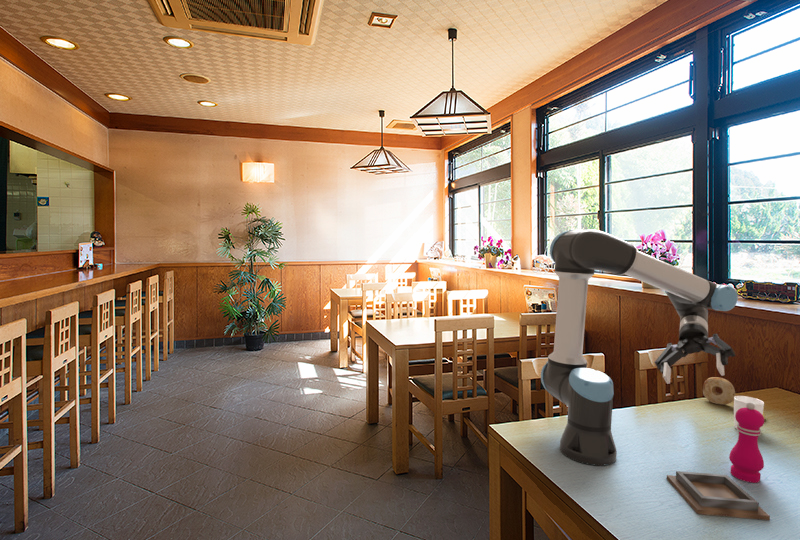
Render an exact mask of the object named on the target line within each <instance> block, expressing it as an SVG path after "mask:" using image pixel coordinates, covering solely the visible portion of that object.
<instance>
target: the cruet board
mask: <svg viewBox="0 0 800 540" xmlns="http://www.w3.org/2000/svg"><path fill="white" fill-rule="evenodd" d="M675 471H676V472H675V475H672V474H666V480H667V481H668V482H669V483H670V484H671V486H672V487H673V488H674V489H675V491H677V493H679V495H680V496H681V497H682V498H683V500H685V502H686V503H687V504H688V505H689V506H690V507H691V508H692V509H693V511H694V512H695V513H696V514H697V515H705V516H707V515H708V516H715V517H716V516H718V517H726V518H727V517H728V518H729V517H730V518H738V519H739V518H741V519H752V520H764V521H770V520H771V519H770V518H771V516H770V514H768V513H767V512H766V511H765V510H764V509H763V508H761V506H759V504H760V502H758V501H757V500H756V499H755V498H754V497H753V496H752V495H750V493H748V492H747V491H746V490H745V489H744V488H743V487H742V486H740V485H739V484H738V483H737V482H735V481H734V479H732V478H731V477H730V476H729V475H728V474H720V473H705V472H694V471H693V472H690V471H682V470H681V471H679V470H675Z"/></svg>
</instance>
